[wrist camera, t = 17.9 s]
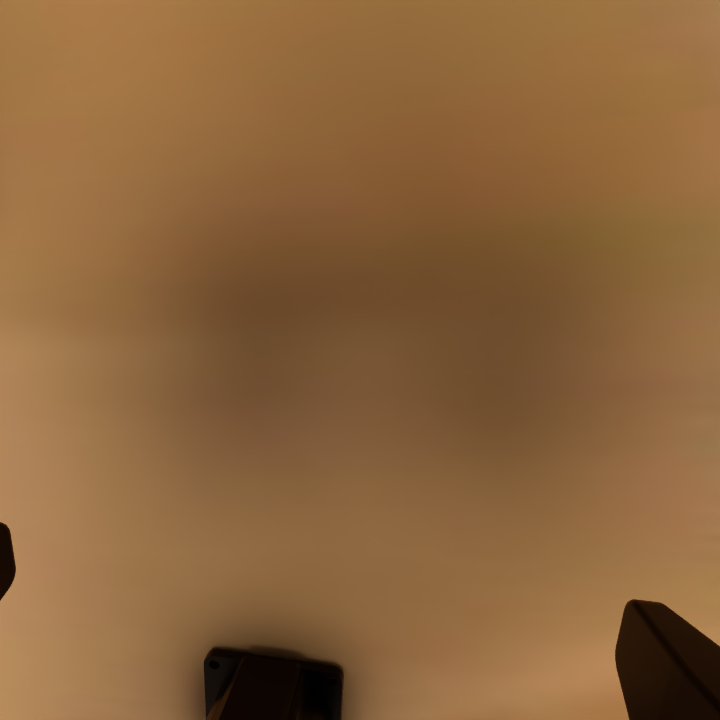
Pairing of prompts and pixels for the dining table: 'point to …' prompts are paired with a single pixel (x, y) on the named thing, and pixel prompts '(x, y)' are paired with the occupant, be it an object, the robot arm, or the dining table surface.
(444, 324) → the dining table surface
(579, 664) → the dining table surface
